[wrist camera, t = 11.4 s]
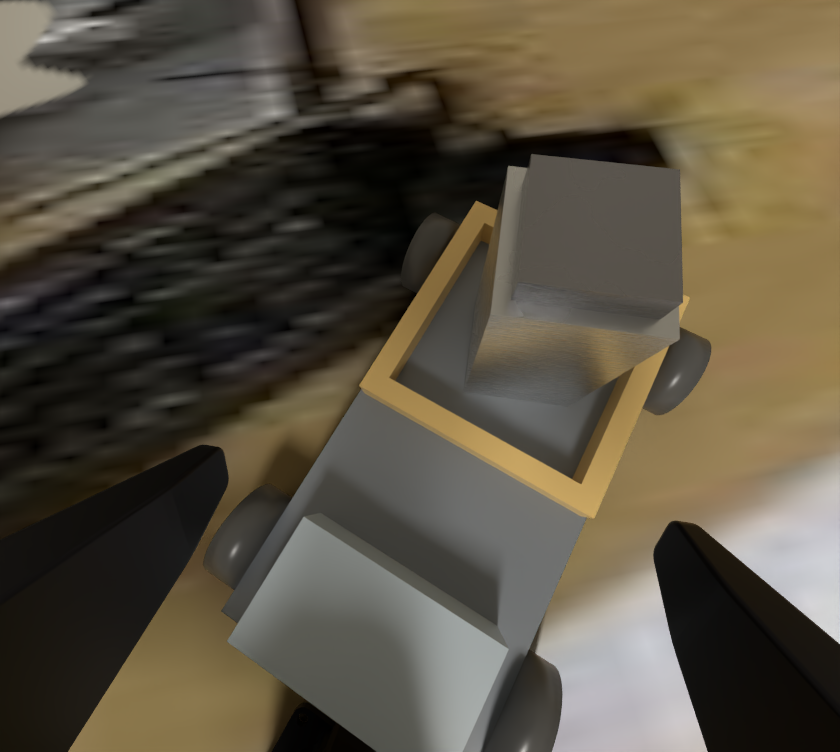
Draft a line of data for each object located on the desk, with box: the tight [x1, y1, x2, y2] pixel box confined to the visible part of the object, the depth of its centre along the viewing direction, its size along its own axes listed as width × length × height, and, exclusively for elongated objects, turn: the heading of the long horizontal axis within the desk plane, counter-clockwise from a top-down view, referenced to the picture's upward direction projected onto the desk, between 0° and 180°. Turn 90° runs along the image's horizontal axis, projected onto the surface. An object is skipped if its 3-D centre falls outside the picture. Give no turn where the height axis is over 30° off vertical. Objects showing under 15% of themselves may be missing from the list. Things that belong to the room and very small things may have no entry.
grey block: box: [464, 154, 683, 407], centre depth 15 cm, size 5×5×10 cm
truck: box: [203, 201, 711, 752], centre depth 19 cm, size 23×15×6 cm, turn 150°
